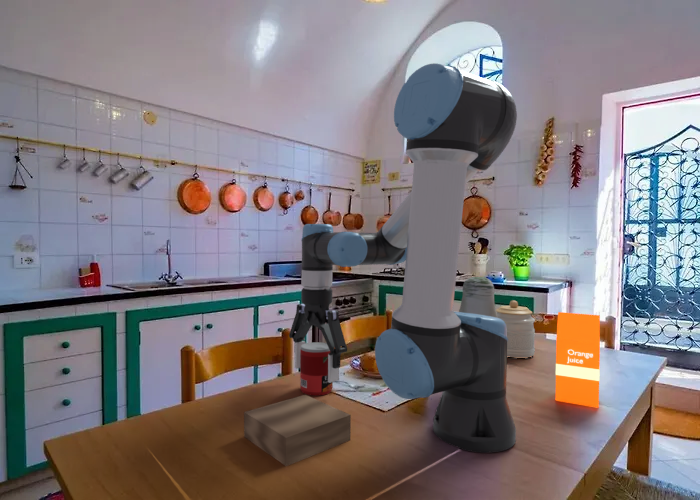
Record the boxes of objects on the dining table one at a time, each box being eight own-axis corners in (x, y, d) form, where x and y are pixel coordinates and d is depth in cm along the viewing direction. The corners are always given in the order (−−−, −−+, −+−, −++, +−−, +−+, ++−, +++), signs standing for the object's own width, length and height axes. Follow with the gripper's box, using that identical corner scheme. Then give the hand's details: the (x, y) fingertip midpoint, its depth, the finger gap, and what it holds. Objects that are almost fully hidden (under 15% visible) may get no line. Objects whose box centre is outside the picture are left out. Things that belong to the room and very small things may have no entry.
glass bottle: (474, 400, 98) (475, 279, 98) (447, 387, 108) (448, 276, 107) (507, 394, 102) (508, 278, 102) (478, 382, 112) (479, 275, 111)
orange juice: (557, 390, 106) (558, 309, 105) (599, 397, 101) (600, 313, 101) (555, 400, 99) (556, 314, 98) (599, 408, 94) (600, 318, 94)
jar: (489, 348, 148) (489, 297, 147) (528, 350, 146) (529, 298, 146) (496, 358, 135) (497, 302, 134) (539, 360, 133) (540, 303, 133)
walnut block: (350, 441, 78) (350, 414, 78) (286, 468, 69) (286, 437, 69) (305, 418, 89) (305, 394, 89) (244, 438, 79) (244, 412, 79)
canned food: (328, 397, 100) (328, 350, 100) (295, 394, 101) (295, 348, 101) (336, 386, 107) (336, 343, 107) (305, 384, 109) (305, 341, 109)
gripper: (363, 291, 97) (361, 384, 98) (300, 282, 116) (299, 359, 117) (337, 294, 92) (336, 391, 93) (276, 283, 111) (275, 364, 112)
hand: (315, 374), depth 105 cm, fingers open, 13 cm apart
